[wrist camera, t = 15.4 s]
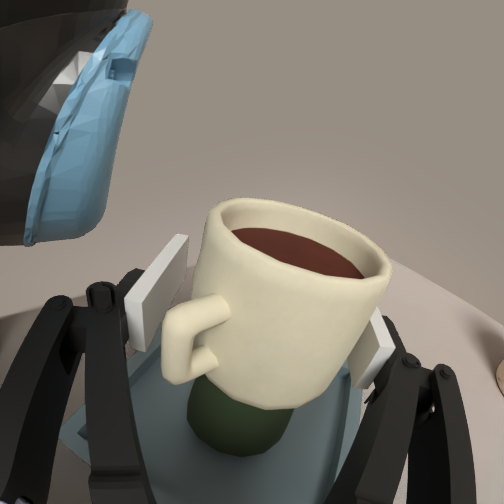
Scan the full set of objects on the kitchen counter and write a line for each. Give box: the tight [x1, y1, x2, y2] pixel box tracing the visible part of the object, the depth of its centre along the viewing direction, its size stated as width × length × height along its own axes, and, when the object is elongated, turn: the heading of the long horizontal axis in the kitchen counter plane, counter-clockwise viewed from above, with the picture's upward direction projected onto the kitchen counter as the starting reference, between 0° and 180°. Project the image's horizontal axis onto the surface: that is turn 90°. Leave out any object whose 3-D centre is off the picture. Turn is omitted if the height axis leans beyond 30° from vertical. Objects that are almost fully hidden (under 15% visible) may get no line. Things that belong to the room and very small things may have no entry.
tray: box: [59, 327, 362, 504], centre depth 16 cm, size 16×16×2 cm
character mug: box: [161, 198, 393, 457], centre depth 13 cm, size 11×7×13 cm, turn 134°
